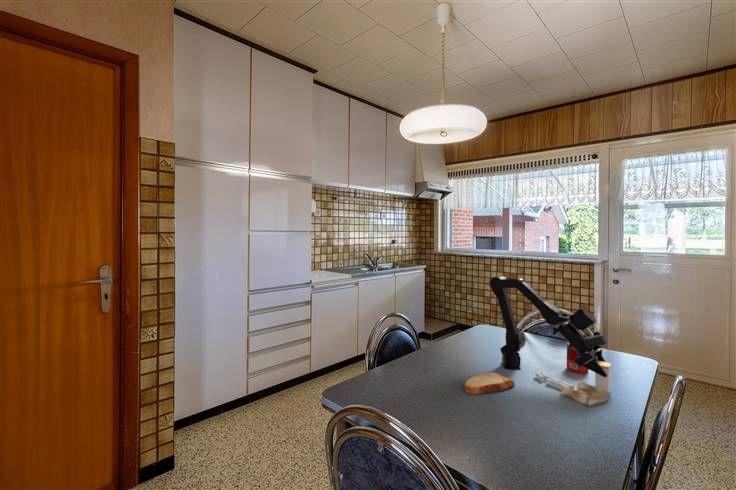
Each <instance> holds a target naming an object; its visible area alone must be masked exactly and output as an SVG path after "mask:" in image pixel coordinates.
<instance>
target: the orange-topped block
mask: <svg viewBox="0 0 736 490" xmlns="http://www.w3.org/2000/svg"><path fill="white" fill-rule="evenodd" d="M598 363H599V365H600V366H601V367H602V369H603V370H604V371H605V373H606V374H607V377H603V376H601V375H599V374H597V373H595V372H594V373H595V376H594V377H595V380H594V381H595V383H594V387H597V388H600V389H602V390H605V391H608V395H609V394H610V392H611V390H612V387H611V386H612V362H611V363H610V362H608V361H606V362H602V361H598Z"/></svg>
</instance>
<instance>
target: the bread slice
mask: <svg viewBox="0 0 736 490" xmlns="http://www.w3.org/2000/svg"><path fill="white" fill-rule="evenodd" d="M515 384H516V382H515V380H514V379H510V378H507V377H506V376H504V375H502V374H500V373H498V372H486V373H485V372H484V373H480V374H476V375H473V376H472V377H469V378H468V379H467V380H465V382H464V384H463V390H464V392H465V393H467V394H470V395H480V394H481V395H482V394H488V393H494V392H495V393H496V392H498V391H503V390H506V389H509V388H511V387H513V386H515Z"/></svg>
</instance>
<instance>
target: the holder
mask: <svg viewBox="0 0 736 490" xmlns="http://www.w3.org/2000/svg"><path fill="white" fill-rule="evenodd" d="M576 382H577V386H576V387H574V390H573V389H571V388H568V387H566V386H562V389H561V390H560V392H559V395H562V396H564V397H566V398H568V399H571V400H573V401H576V402H577V403H580V404H582V405H585V406H587V407H588V408H590V407H593V406H596V405H598V404H601V403H603V402H606V401H608V399H609V398H608V397H609V394H608V391H605V390H602V389H600V388H597V387H595V385H591V384H589V383H586V382H584V381H581V380H578V381H576Z"/></svg>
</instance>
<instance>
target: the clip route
mask: <svg viewBox="0 0 736 490" xmlns="http://www.w3.org/2000/svg"><path fill="white" fill-rule="evenodd" d="M534 379H536V380H538V382H541V383H542V382H543V383H545V385H547V386H550V387H551V388H554V389H557V390H560V391H561V389H562V386H566V387H568V388H571V389H573V390H574V388H575V385H573V384H571V383H568V382H565V381H562V380H560V379H557V378H554V377H552V376H550V375H548V374H546V373H545V372H543V371H542V372H541V373H539V372H535V375H534Z"/></svg>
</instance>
